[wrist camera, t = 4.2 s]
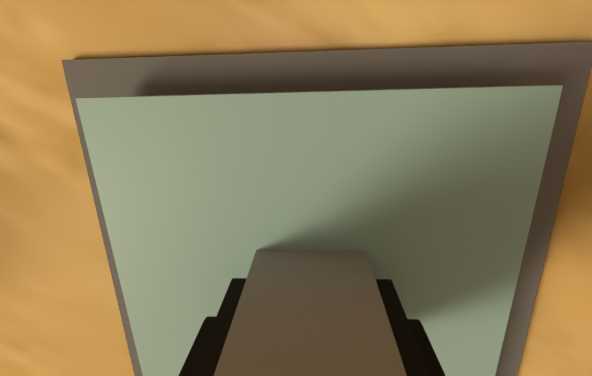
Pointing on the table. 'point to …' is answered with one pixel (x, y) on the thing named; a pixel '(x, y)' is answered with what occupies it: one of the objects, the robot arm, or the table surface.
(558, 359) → the table surface
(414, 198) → the lid
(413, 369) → the robot arm
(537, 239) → the mat
